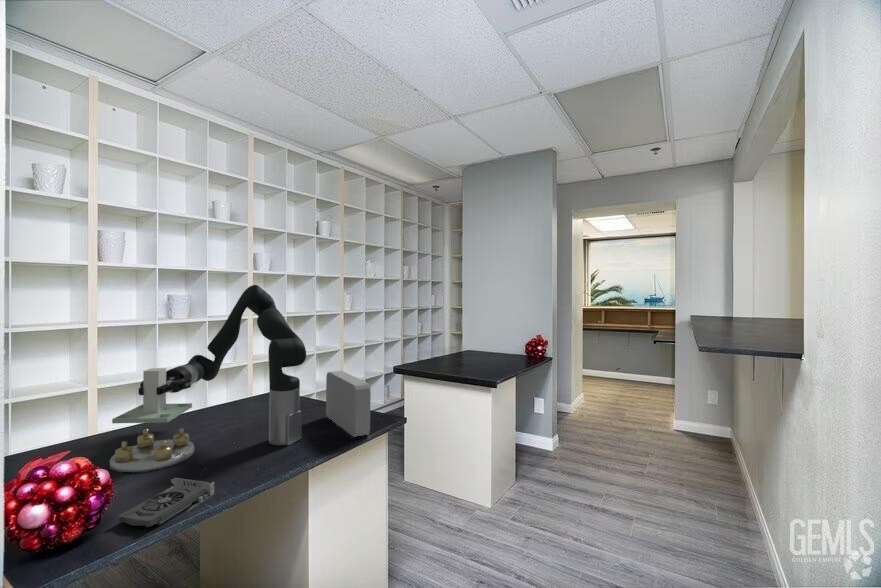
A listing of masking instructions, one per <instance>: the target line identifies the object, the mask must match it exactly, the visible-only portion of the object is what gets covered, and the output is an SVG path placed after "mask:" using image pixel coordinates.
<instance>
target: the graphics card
mask: <svg viewBox="0 0 881 588" xmlns="http://www.w3.org/2000/svg"><path fill="white" fill-rule="evenodd" d="M170 483H171V484H173V485H171V486H170V487H168V488H166V489H165V490H162V491H161V492H159V493H157V494H156V495H154V496H152V497H150V498H149V499H146V500H145V501H142V502H141V503H139V504H137V505H135V506H134V507H132V508H130V509H129V510H127V511H125V512H123V513H121V514H119V515H118V523H119V524H120V523H126V524H128V525H130V526H144V528H148V527H153V526H154V525H158V526H159V525H161V524H162V525H163V523H165V522H166V521H168V520H170V519H172V518H173V517H174V516H176V515H178V514H180V513H181V512H183V511H184V510H186V509H187V510H186V513H188V512H190V511H191V510H193V509H195V508H196V507H197V506H199V505H200V504H202V503H203V502H205V501H207V500H208V499H210V498H211V496H213V495H215V486H214V485H215V481H212V482H211V483H210V482H208V481H204V480H195V479H193V480H192V479H186V478H185V479H184V478H180V477H174V478H171V479H170ZM194 484H195V485H194Z"/></svg>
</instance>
